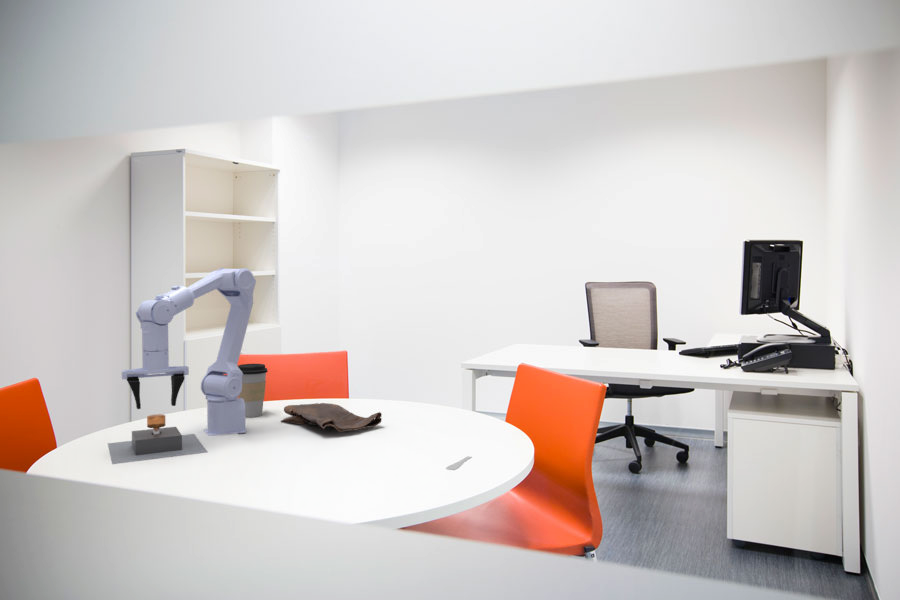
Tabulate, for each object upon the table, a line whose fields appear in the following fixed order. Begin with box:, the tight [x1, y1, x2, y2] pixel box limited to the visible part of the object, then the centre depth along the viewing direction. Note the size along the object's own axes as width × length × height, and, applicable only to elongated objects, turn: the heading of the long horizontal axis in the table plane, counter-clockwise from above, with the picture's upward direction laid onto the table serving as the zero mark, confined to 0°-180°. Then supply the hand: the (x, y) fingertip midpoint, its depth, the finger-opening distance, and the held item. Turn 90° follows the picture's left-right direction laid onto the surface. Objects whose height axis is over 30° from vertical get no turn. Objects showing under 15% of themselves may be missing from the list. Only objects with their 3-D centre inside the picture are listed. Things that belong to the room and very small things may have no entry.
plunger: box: [146, 413, 166, 434], centre depth 157 cm, size 4×4×7 cm
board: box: [107, 433, 208, 465], centre depth 157 cm, size 20×20×1 cm
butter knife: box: [445, 456, 473, 471], centre depth 153 cm, size 1×24×3 cm
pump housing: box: [131, 426, 183, 455], centre depth 157 cm, size 10×10×4 cm
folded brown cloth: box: [280, 402, 382, 433], centre depth 185 cm, size 32×20×5 cm, turn 38°
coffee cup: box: [237, 363, 268, 418], centre depth 196 cm, size 9×9×15 cm
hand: (156, 406), depth 157 cm, fingers open, 7 cm apart
